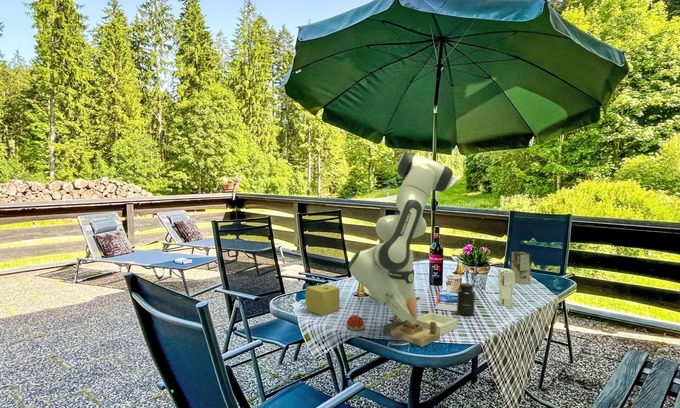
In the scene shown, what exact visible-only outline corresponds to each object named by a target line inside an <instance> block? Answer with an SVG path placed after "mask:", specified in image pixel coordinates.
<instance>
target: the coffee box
mask: <svg viewBox="0 0 680 408" xmlns="http://www.w3.org/2000/svg"><path fill="white" fill-rule="evenodd" d="M531 261H532V254H531V253H527V252H524V251H511V264H510V265H511V269H510V270H513V271H515V283H517V284H519V285H529V284H530V285H531V271H532V270H531V267H532V266H531V265H532V264H531V263H532V262H531Z"/></svg>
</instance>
